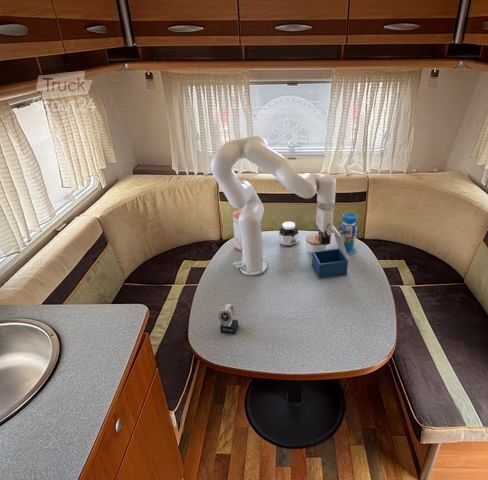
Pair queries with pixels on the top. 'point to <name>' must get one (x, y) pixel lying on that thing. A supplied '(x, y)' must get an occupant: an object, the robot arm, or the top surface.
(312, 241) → the trinket box
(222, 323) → the watch
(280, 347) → the top surface
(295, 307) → the top surface
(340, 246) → the lid
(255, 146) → the robot arm
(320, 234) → the block
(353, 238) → the beverage bottle
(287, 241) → the spread jar
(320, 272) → the case
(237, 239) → the cracker box
